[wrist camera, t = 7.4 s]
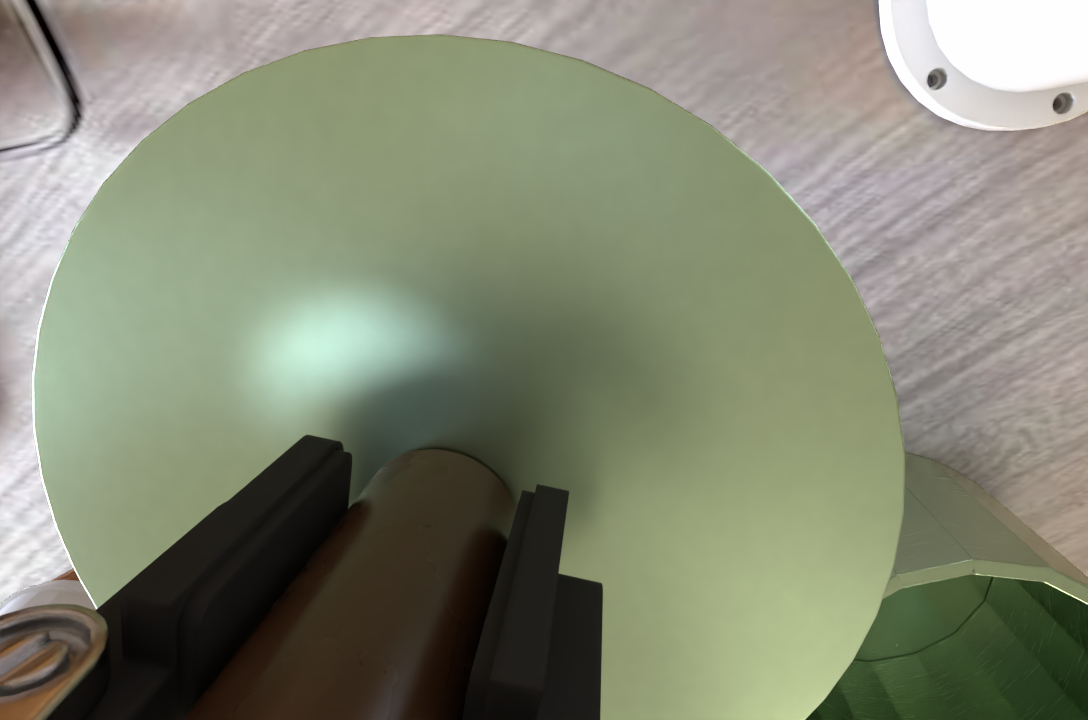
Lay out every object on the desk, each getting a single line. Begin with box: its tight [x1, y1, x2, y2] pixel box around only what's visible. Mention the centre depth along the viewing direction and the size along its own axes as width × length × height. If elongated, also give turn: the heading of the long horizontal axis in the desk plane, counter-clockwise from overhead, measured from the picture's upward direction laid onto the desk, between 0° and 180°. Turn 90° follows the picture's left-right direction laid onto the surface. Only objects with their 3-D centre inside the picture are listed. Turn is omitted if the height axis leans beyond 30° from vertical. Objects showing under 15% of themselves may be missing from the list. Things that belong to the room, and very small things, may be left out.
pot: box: [805, 453, 1088, 720], centre depth 30 cm, size 14×20×10 cm
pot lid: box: [32, 34, 905, 720], centre depth 9 cm, size 15×15×7 cm
